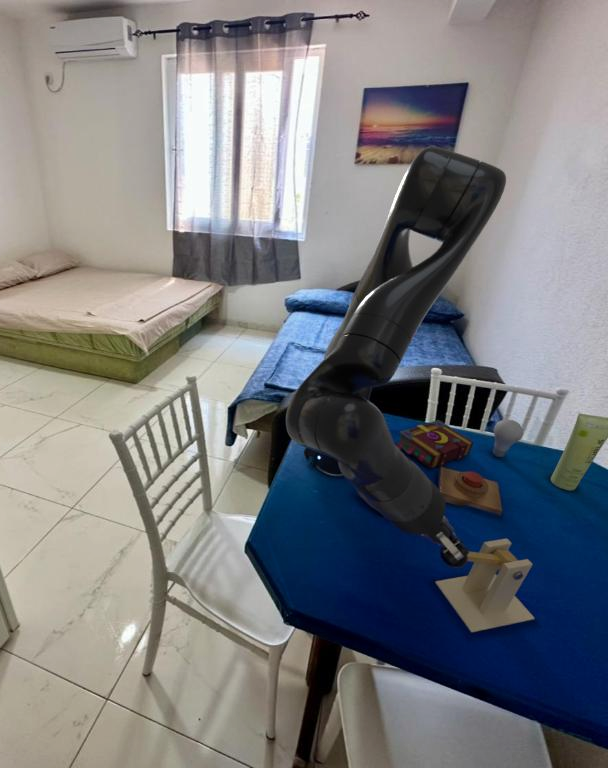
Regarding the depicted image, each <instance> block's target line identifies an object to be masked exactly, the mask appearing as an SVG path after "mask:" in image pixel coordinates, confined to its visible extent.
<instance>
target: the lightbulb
mask: <svg viewBox="0 0 608 768" xmlns="http://www.w3.org/2000/svg"><path fill="white" fill-rule="evenodd" d="M523 435H524V428H523V427H522V425H521V424H520V423H519V422H517V421H516V420H514V419H511V418H510V419H508V418H505V419H502V420H499V421H498V422H497V423H495V424H494V426H493V436H494V444H493V449H492V454H493V455H494V457H497V458H503V457H505V454H506V453H507V452H508V451H509V449H510V448H511V447H512V446H513V445H514V444H516V443H517V442H519V441H520V440H521V439H523Z"/></svg>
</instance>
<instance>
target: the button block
mask: <svg viewBox="0 0 608 768" xmlns="http://www.w3.org/2000/svg"><path fill="white" fill-rule="evenodd" d="M466 472H467V471H458V470H455V469H451V468H447V467H444V466H440V467H439V470H438V474H437V488H438V489H439V490H440V492H441V493H442V495H443V497H444V500H445V503H447V504H451V505H453V506H457V507H465V506H469V507H472V508H474V509H475V508H476V509H478V510H481V511H485V512H488V513H491V514H495V515H498V516H501V515H502V513H503V507H502V500H501V495H500V490H499V483H498V481H494V480H490V479H487V478H483V482H482V484H481V486H480V487H479V488H474V487H471V486H468V485H467V484H465V483H464V482H463V478H464V475H465V473H466Z"/></svg>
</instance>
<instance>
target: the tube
mask: <svg viewBox="0 0 608 768" xmlns="http://www.w3.org/2000/svg"><path fill="white" fill-rule="evenodd" d="M607 440H608V417H606V416H599V415H592V414H586V413H578V415H577V417H576V420H575V423H574V426H573V429H572V430H571V433H570V436H569V438H568V440H567V443H566V445H565V447H564V449H563V452H562V454H561V456H560V458H559V461H558V462H557V464H556V466H555V469H554V471H553V473H552V475H551V477H550V481H551V483H552V484H553V485H554V486H555V487H558V488H559V489H563V490H565V491H575V490H576V489H577V488H578V486H579V484H580V483H581V480H582V479H583V478H584V476H585V474H586V472H587V471H588V469H589V468H590V466H591V464H592V463H593V461H594V460H595V458H596V456H597V455H598V454H599V452H600V450H601V449H602V448H603V446H604V445H605V443H606V442H607Z"/></svg>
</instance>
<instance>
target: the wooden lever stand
mask: <svg viewBox="0 0 608 768" xmlns="http://www.w3.org/2000/svg"><path fill="white" fill-rule="evenodd" d="M511 546H512V542H511V541H510V540H509V539H508V538H501V539H495V540H488V541H484V542H483V544H482V545H481V547H480V550H479V551H478V553H485V554H493V553H494V552H495V551H496V550H497V549H500V550H507V551H509V549H510V547H511ZM532 567H533V563H532V562H531V561H530V560H529V559H528V558H526V559H518V561H514V562H508V563H504V564H503V565H502V567H501V569H500V571H498V570H497V568H496V567H495V566H494V565H493V564H488V563H479V562H473V564H472V566H471V567H470V571H469V572H468V574H467V575H463V576H457V577H452V578H446V579H441V580H436V581H435V582H434V583H435V585H436V586H437V587H438V588H439V590H440V591H441V593H442V594H443V595H444V597H445V598H446V599H447V601H448V602H449V604H450V605H451V607H452V608H453V609H454V610H455V612H456V614H457V615H458V616H459V617H460V619H461V620H462V622H463V623H464V625H465V627H467V629H468V630H469V632H470V633H477V632H481V631H486V630H491V629H495V628H500V627H504V626H510V625H514V624H518V623H523V622H528V621H533V620H535V617H534V615H532V613H531V612H530V611H529V610H528V608H526V606H525V605H524V604H523V603H522V602H521V600H520V599H518V598H517V596H516V594H517V592H518V591H519V589H520V587H521V585H522V584H523V582H524V581H525V579H526V577H527V576H528V573H529V572H530V570H531V568H532ZM497 572H498V573H497Z"/></svg>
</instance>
